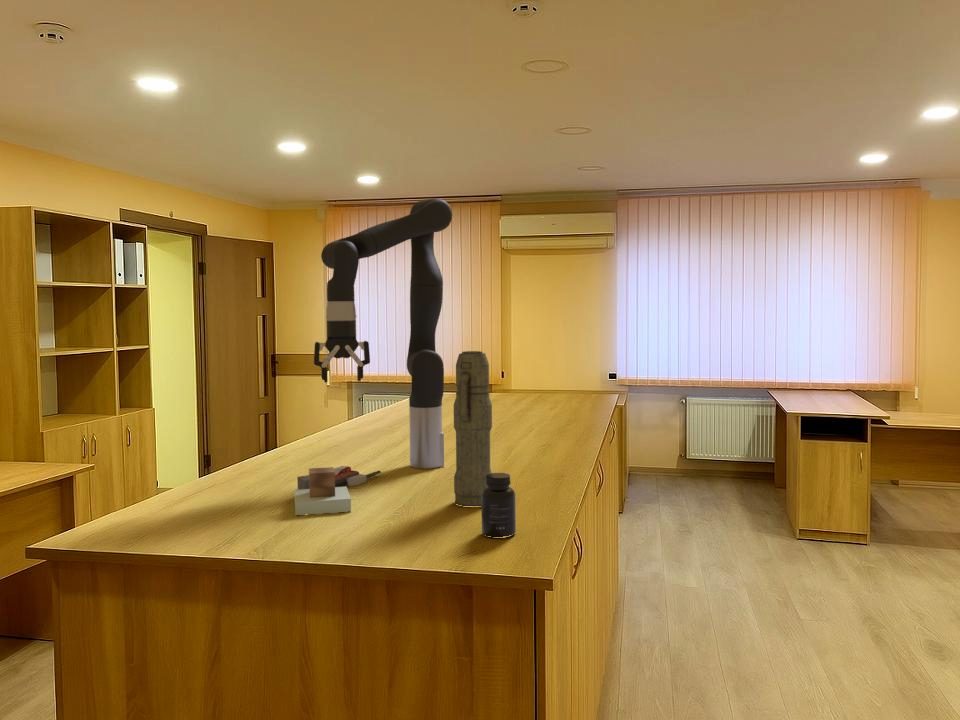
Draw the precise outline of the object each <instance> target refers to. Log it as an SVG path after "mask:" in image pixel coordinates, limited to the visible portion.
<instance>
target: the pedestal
mask: <svg viewBox="0 0 960 720" xmlns="http://www.w3.org/2000/svg"><path fill="white" fill-rule="evenodd" d="M294 509H295V510H294V511H295V513H294V514H295V516H296V515H304V516H306V515H305V514H317V515H322V514H321V513H331V514H339V513H338V512H345V513H349V512H348V511H351V512H352V498H351V495H350V493H349V490H348V486H346V487H335V496H331V497H316V498H310V492H309V489H301V490H298V489H294Z"/></svg>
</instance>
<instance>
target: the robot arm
mask: <svg viewBox="0 0 960 720" xmlns="http://www.w3.org/2000/svg"><path fill="white" fill-rule="evenodd" d="M452 220H453V211H452V208H451V206H450V204H449V203H448V202H446V201H445V200H444V199H441V198H429V199H424V200H418V201H416V202H415V203H414V204H413V205H412V207H411V209H410V211H409V214H408V215H405V216H402V217H399V218H395V219H392V220H389V221H384V222H382V223H378V224H376V225H373V226H370V227H367V228H366V229H363V230H361V231H359V232H357V233H355V234H352V235H349V236H346V237H343V238H340V239H337V240H334V241H332V242H328V243H327V244H326V245H325V246H324V247H323V248H322V250H321V256H320V257H321V258H320V259H321V261H322V263H323V265H324V266H326V267H327V268H329V269H332V270H333V271H332V272H333V273H332V277H331V278H330V279H329V280H328V281H327V283H326V310H325V311H326V313H325V314H326V315H325V319H326V341H325V342H319V341H315V342H314V351H313V364H314V366H318V367H319V368H320V369H321V370H320V371H321V380H322V381H324V383H328V367H327V366H328V364H329V363H330V362H331V360H332V359H333V358H335V359H349V358H352V359H353V360H354V362H355V364H357V366H356V368H357V369H356V374H357V375H356V378H357V379H356V380H357V382H361V380H362V379H363V378H364V367H365V366H366V365H370V363H371V357H370V356H371V355H370V345H369V343H370V342H369V341H368V340H363V341H358V340H357V311H356V303H355V282H356V278H357V274H358V268H359V262H360V261H359V260H360V259H366V258H371V257H372V256H375V255H378V254H379V253H382V252H385V251H386V250H388V249H391V248H393V247H395V246H397V245H399V244H402V243H404V242H406V241H409V240H410V246H411V247H410V249H411V251H410V255H411V256H410V258H411V260H410V272H411V273H410V282H409V283H410V284H409V285H410V288H409V319H410V321H409V323H410V331H409V332H410V334H409V336H410V337H409V343H408V351H407V356H406V357H407V358H406V370H407V373H409V375H410V377H411V392H410V395H409V399H408V406H409V408H408V411H409V412H408V413H409V416H408V417H409V466H410V467H411V468H414V469H425V470H426V469H435V468H440V467H445V437H444V436H445V435H444V432H443V414H442V413H443V403H442V401H443V397H444V389H445V388H444V384H445V381H444V379H445V368H444V365H445V364H444V362H443V359H442V357H441V355H439V354H438V352H437V350H436V331H437V326H438V323H439V319H440V315H441V311H442V306H443V299H444V298H443V297H444V295H443V290H444V287H443V286H444V279H443V276H442V275H443V274H442V271H441V269H440V267H439V263H438V262H437V259H436V256H435V249H434V244H435V243H434V238H435V233H439V232H441V231H444V230H446V229H447V228H448V227H449V226H450V224H451V223H452ZM324 347H325V348H326V350H327V351H328V353H327V355H325V357H324V359H323V360H322V361H320V351H323V349H324ZM358 347H360V349H361V350H363V360H361V359H360V357H359V356H358V355H357V353H356V352H355V351H356V350H357V349H358Z"/></svg>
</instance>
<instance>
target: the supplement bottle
mask: <svg viewBox="0 0 960 720" xmlns="http://www.w3.org/2000/svg"><path fill="white" fill-rule="evenodd" d="M486 485H487V487H486V488H485V489H484V490H483V491H482V493H481V507H480V508H481V533H483V534H484V535H486V536H491V537H503V536H509V535H512V534H514V533H515V532H517V529H516V528H517V522H516V521H517V519H516V515H517V514H516V511H517V510H516V509H517V507H516V503H517V502H516V492H515V490H514V489H513V488H512V487H511V486H510V485H511V475H510V474H509V473H506V472H492V473H491V474H487V475H486ZM483 534H482V535H483ZM515 534H516V533H515ZM515 534H514V535H515ZM484 535H483V536H484Z"/></svg>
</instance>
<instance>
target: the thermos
mask: <svg viewBox="0 0 960 720" xmlns="http://www.w3.org/2000/svg"><path fill="white" fill-rule="evenodd" d="M486 354H487V353H485V352H483V351H479V350H476V351H475V350H472V351H471V350H467V351H462V352H461V353H459V354H458V357H457V360H456V363H455V386H456V392H455V399H454V402H453V429H454V430H455V431H454V432H455V455H456V456H455V464H456V465H455V466H456V467H455V468H456V471H455V472H454V477H453V490H454V491H453V492H454V495H455V497H454V499H455V500H454V504H455V503H456V504H458V505H462V506H481V493H482V491H483V490H484V489H485V488H486V487H487V485H486V475H487V474H491V473H493V472H492V469H491V430H492V428H493V405H492V401H491V397H490V392H489V386H490V364H489V360H488V357H487V355H486ZM456 504H455V505H456Z"/></svg>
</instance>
